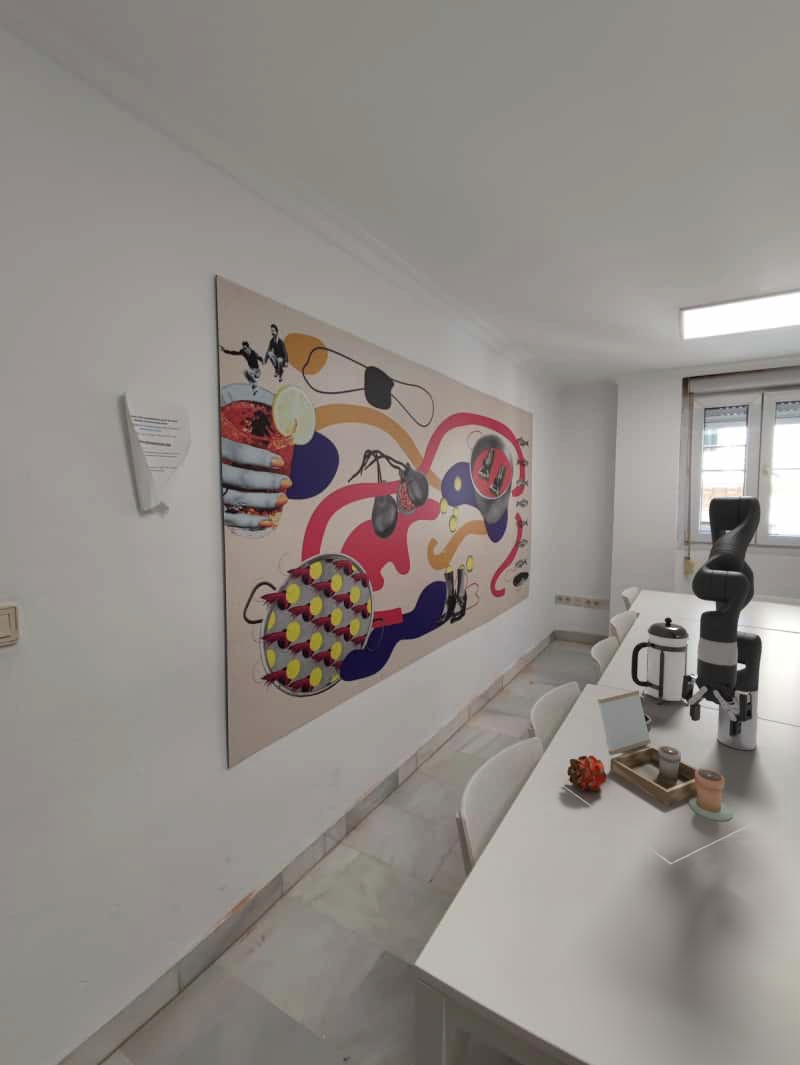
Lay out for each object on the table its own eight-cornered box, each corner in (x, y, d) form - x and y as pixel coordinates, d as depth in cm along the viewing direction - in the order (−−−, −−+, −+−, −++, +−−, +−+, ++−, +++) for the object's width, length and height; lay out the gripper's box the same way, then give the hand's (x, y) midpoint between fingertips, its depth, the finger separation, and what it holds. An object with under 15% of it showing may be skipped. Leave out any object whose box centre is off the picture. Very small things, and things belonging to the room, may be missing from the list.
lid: (650, 742, 132) (648, 742, 133) (638, 690, 135) (636, 690, 136) (611, 755, 126) (609, 754, 126) (600, 699, 129) (597, 699, 130)
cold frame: (630, 747, 139) (632, 705, 138) (709, 789, 118) (711, 741, 118) (590, 759, 132) (591, 716, 131) (667, 806, 111) (669, 755, 111)
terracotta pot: (703, 795, 115) (704, 766, 114) (729, 809, 109) (730, 778, 109) (688, 802, 112) (689, 771, 112) (713, 816, 107) (714, 785, 106)
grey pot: (665, 768, 127) (666, 743, 127) (684, 778, 123) (685, 752, 122) (652, 772, 125) (653, 747, 125) (671, 783, 120) (672, 757, 120)
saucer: (703, 795, 116) (703, 792, 116) (740, 815, 108) (740, 812, 108) (680, 804, 112) (681, 801, 112) (717, 826, 105) (717, 823, 105)
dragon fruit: (570, 802, 115) (593, 789, 124) (600, 794, 111) (622, 781, 119) (554, 765, 119) (577, 755, 128) (582, 755, 115) (604, 746, 123)
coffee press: (648, 687, 184) (650, 610, 182) (695, 699, 172) (698, 617, 170) (629, 699, 172) (632, 617, 170) (678, 714, 161) (682, 626, 159)
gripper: (761, 665, 103) (757, 738, 104) (696, 647, 116) (693, 712, 117) (741, 670, 100) (737, 745, 101) (676, 651, 113) (673, 718, 114)
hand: (713, 727), depth 109 cm, fingers open, 8 cm apart
